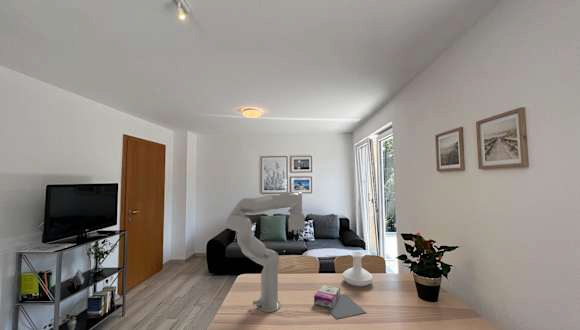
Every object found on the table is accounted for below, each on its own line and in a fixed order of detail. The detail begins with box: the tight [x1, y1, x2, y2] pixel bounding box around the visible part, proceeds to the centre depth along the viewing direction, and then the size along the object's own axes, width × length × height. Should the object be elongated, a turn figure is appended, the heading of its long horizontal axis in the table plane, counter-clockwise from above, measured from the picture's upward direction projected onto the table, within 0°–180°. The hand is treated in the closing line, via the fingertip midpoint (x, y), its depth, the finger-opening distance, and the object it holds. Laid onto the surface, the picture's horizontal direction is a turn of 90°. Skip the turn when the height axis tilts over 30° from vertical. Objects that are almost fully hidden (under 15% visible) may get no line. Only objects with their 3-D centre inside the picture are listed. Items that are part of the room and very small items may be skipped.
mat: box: [325, 293, 367, 320], centre depth 139 cm, size 18×22×1 cm
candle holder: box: [342, 251, 373, 288], centre depth 169 cm, size 20×20×19 cm
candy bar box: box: [313, 284, 341, 308], centre depth 144 cm, size 11×5×16 cm
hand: (296, 240), depth 155 cm, fingers closed
